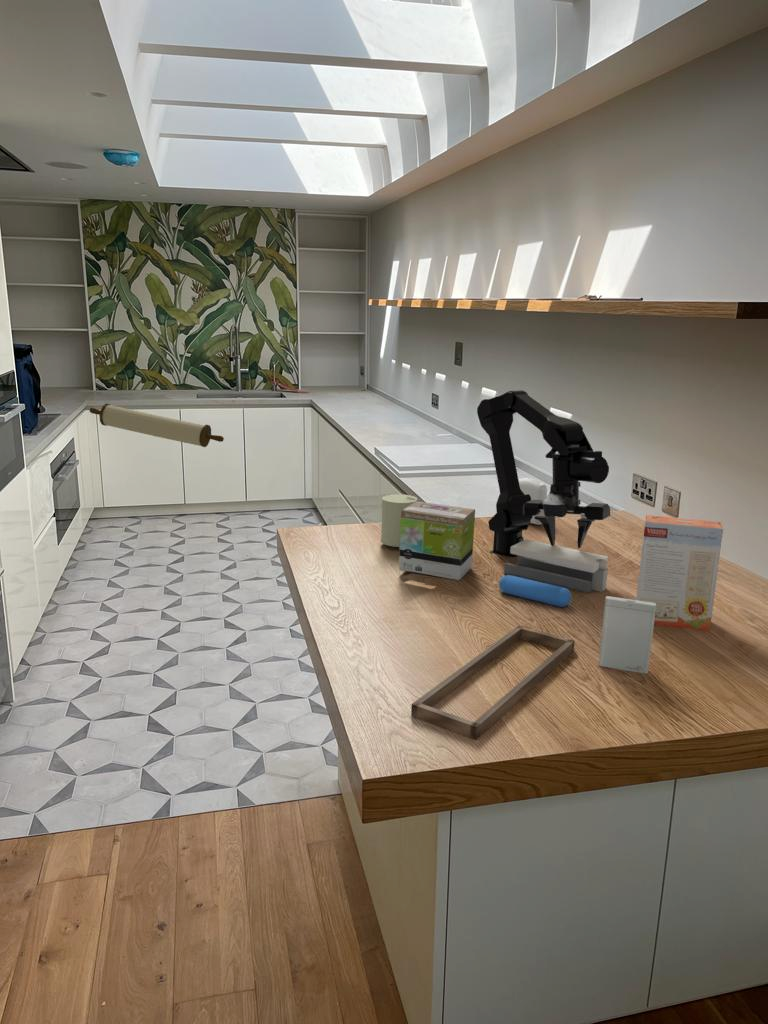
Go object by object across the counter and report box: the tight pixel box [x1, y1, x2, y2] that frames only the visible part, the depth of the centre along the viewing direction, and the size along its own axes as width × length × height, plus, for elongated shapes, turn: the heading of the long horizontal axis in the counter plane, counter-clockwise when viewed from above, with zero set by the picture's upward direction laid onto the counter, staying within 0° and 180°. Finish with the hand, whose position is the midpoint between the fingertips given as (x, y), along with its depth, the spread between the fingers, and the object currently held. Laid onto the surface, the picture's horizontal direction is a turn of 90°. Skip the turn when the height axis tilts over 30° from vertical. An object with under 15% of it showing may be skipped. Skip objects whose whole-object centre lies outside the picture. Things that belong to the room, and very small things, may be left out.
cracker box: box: [635, 514, 724, 631], centre depth 153 cm, size 14×6×21 cm, turn 71°
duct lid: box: [510, 539, 609, 572], centre depth 176 cm, size 21×8×2 cm, turn 53°
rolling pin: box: [89, 403, 225, 448], centre depth 173 cm, size 32×6×5 cm, turn 77°
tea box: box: [398, 500, 476, 582], centre depth 181 cm, size 15×10×15 cm, turn 68°
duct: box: [503, 555, 609, 594], centre depth 177 cm, size 22×8×5 cm, turn 55°
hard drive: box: [598, 595, 656, 674], centre depth 134 cm, size 2×8×12 cm, turn 70°
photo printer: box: [518, 477, 548, 526], centre depth 224 cm, size 10×4×12 cm, turn 39°
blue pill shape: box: [498, 574, 572, 608], centre depth 166 cm, size 16×4×4 cm, turn 55°
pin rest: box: [410, 625, 576, 740], centre depth 130 cm, size 11×37×2 cm, turn 145°
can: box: [380, 493, 418, 548], centre depth 202 cm, size 9×9×12 cm
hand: (566, 546), depth 179 cm, fingers open, 6 cm apart
